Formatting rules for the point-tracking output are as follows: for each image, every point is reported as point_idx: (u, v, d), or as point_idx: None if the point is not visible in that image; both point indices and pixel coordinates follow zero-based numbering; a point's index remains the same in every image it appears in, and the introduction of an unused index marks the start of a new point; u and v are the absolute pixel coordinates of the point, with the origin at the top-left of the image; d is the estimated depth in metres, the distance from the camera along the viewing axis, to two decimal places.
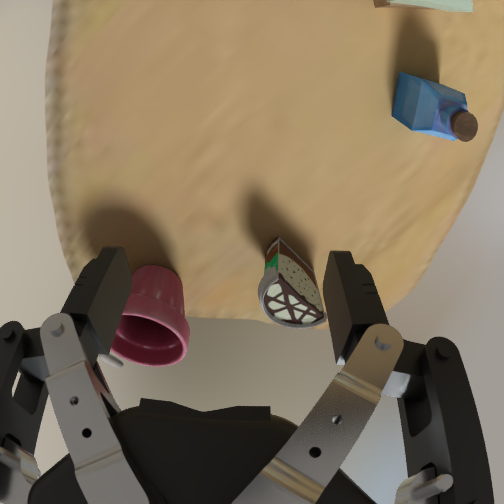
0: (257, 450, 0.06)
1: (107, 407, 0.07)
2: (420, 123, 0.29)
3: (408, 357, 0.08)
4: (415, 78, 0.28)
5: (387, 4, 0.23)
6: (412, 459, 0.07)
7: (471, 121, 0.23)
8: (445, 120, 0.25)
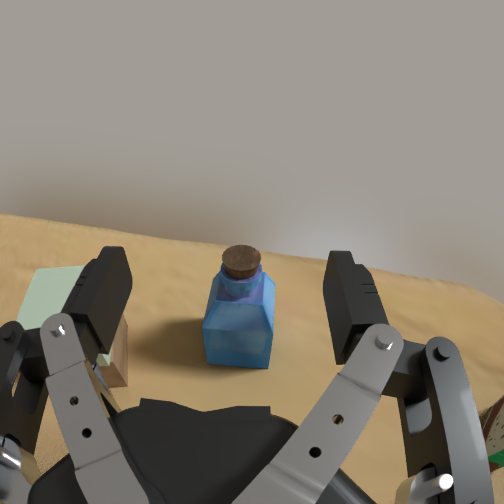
0: (257, 450, 0.06)
1: (107, 407, 0.07)
2: (259, 322, 0.27)
3: (408, 357, 0.08)
4: (205, 338, 0.28)
5: (114, 366, 0.26)
6: (412, 459, 0.07)
7: (232, 252, 0.26)
8: (242, 285, 0.25)
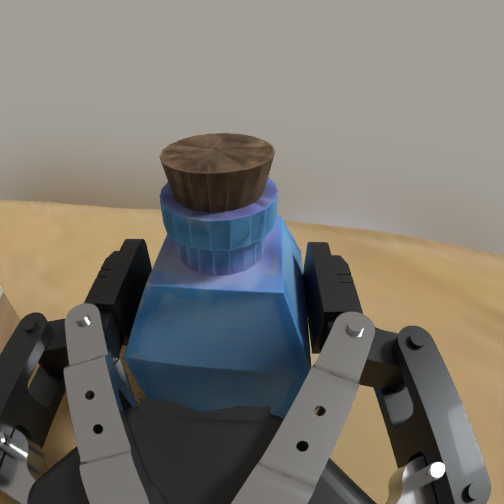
0: (257, 450, 0.06)
1: (124, 403, 0.08)
2: (274, 343, 0.09)
3: (381, 346, 0.08)
4: (140, 380, 0.11)
5: None
6: (399, 449, 0.07)
7: (193, 144, 0.09)
8: (220, 231, 0.08)
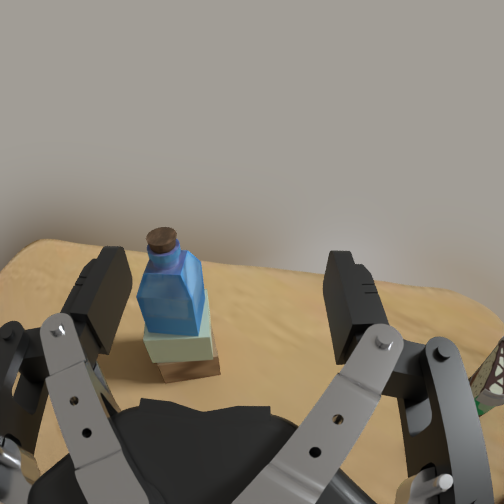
0: (257, 450, 0.06)
1: (107, 407, 0.07)
2: (179, 290, 0.32)
3: (408, 357, 0.08)
4: (140, 306, 0.33)
5: (217, 359, 0.40)
6: (412, 459, 0.07)
7: (155, 233, 0.31)
8: (162, 258, 0.31)
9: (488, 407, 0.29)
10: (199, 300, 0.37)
